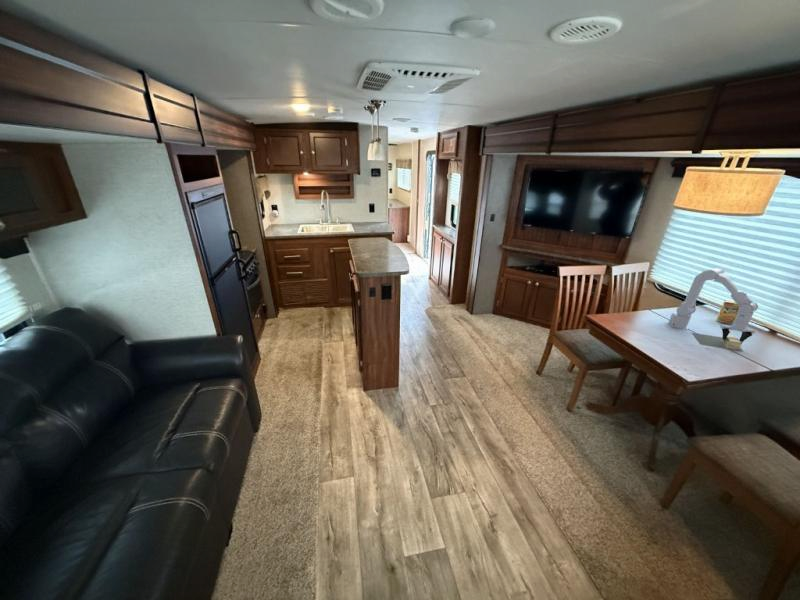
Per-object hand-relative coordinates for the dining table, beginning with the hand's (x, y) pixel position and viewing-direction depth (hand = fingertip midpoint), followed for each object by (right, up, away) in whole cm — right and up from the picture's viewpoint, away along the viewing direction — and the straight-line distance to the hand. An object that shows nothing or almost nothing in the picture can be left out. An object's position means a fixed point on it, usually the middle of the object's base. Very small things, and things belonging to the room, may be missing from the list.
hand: (731, 340), depth 186 cm
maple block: (0, -3, +1) cm, 3 cm away
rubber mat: (-5, -2, +5) cm, 7 cm away
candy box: (+26, +9, +28) cm, 39 cm away
